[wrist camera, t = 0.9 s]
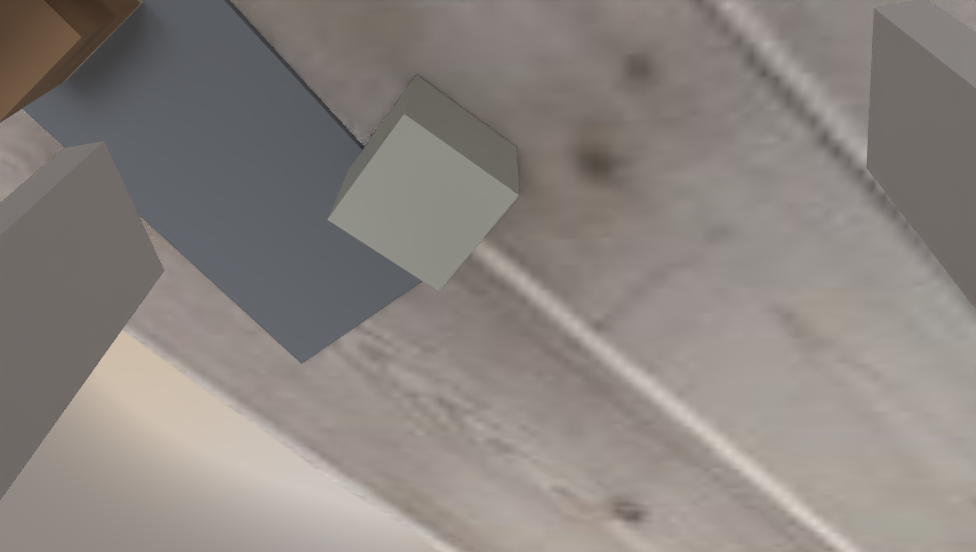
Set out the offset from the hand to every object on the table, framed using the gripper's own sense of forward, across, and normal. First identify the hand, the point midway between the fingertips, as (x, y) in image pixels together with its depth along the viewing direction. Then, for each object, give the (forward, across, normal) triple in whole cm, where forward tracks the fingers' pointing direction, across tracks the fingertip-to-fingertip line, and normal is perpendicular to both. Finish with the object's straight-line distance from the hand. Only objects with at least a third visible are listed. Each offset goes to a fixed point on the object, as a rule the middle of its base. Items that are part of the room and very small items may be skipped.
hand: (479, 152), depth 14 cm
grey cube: (+25, -6, -10) cm, 28 cm away
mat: (+25, -19, -5) cm, 32 cm away
